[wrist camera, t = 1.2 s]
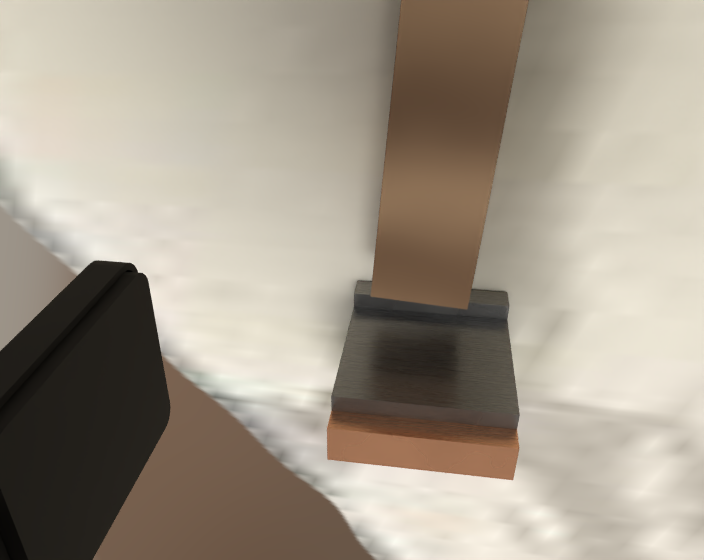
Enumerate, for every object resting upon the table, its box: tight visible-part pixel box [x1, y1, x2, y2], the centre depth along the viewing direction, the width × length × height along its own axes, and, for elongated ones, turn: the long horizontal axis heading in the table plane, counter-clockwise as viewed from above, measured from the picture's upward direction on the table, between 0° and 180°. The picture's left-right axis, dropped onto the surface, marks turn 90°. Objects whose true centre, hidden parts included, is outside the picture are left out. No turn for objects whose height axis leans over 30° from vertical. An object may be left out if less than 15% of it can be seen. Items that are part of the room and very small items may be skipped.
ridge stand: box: [327, 281, 519, 480], centre depth 27 cm, size 4×7×9 cm, turn 90°
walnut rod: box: [371, 0, 529, 309], centre depth 24 cm, size 16×4×4 cm, turn 176°
